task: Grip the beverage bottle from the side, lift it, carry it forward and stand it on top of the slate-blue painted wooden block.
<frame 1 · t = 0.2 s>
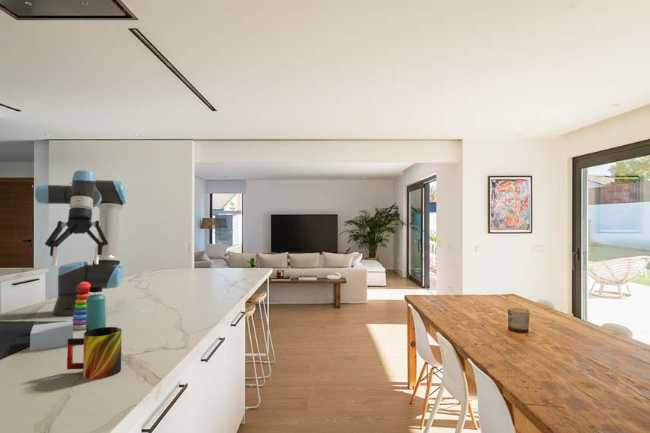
hand: (75, 264, 144), 28 cm above the worktop, tool tilted 20°, fingers open, 13 cm apart
beverage bottle: (95, 340, 145), on the worktop
block: (52, 343, 141), on the worktop
mug: (94, 374, 114), on the worktop
stacking toy: (82, 328, 161), on the worktop
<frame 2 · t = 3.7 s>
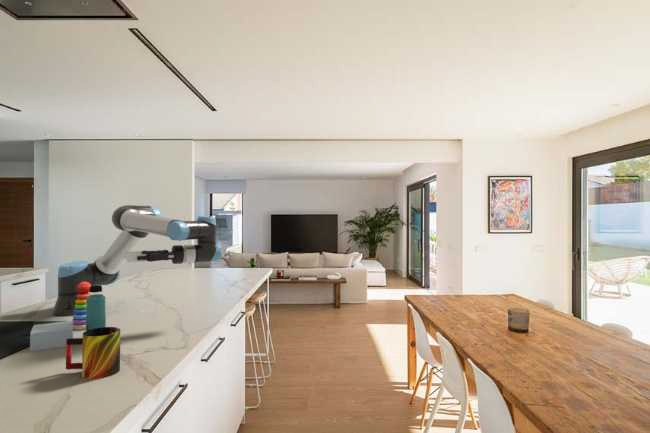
hand: (124, 256, 150), 30 cm above the worktop, tool horizontal, fingers open, 13 cm apart
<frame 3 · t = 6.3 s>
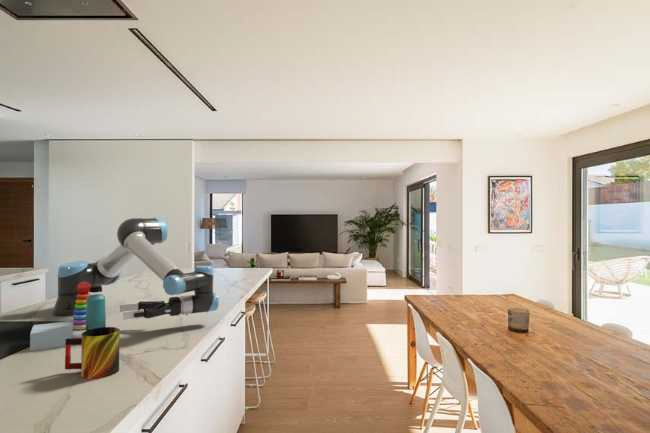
hand: (121, 311, 150), 9 cm above the worktop, tool horizontal, fingers open, 13 cm apart
nothing on the worktop moved.
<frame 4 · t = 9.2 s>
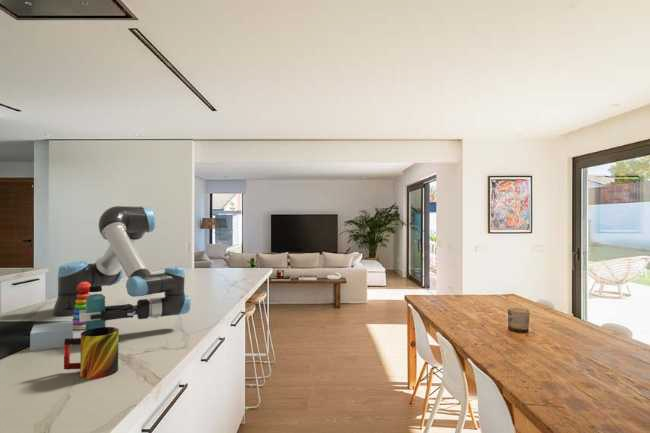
hand: (79, 315, 142), 10 cm above the worktop, tool horizontal, fingers closed on beverage bottle, 6 cm apart
beverage bottle: (95, 340, 145), on the worktop, touching gripper
everything else where it was.
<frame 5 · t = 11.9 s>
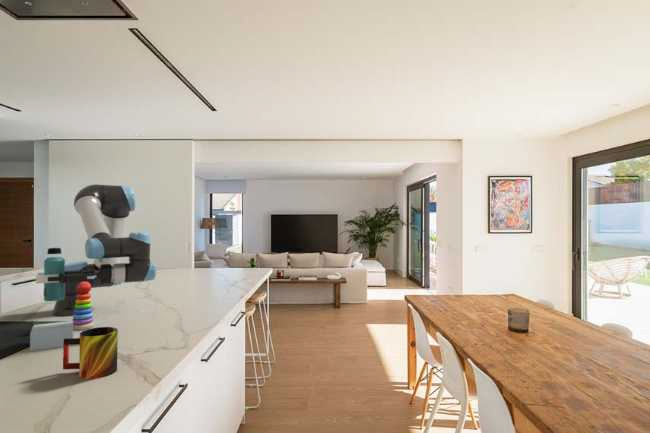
hand: (37, 278, 138), 24 cm above the worktop, tool horizontal, fingers closed on beverage bottle, 6 cm apart
beverage bottle: (54, 304, 141), point 14 cm above the worktop, touching gripper
when the fingers open (16 cm above the worktop, at t = 15.0 s): beverage bottle stays where it is, resting on block.
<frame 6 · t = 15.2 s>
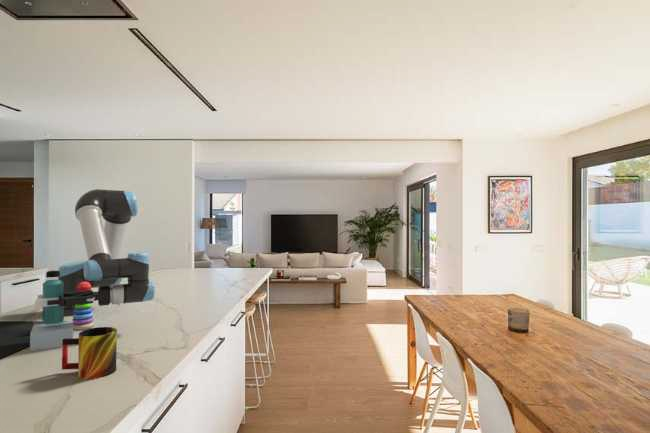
hand: (36, 301, 138), 16 cm above the worktop, tool horizontal, fingers open, 8 cm apart
beverage bottle: (52, 327, 141), point 6 cm above the worktop, touching block
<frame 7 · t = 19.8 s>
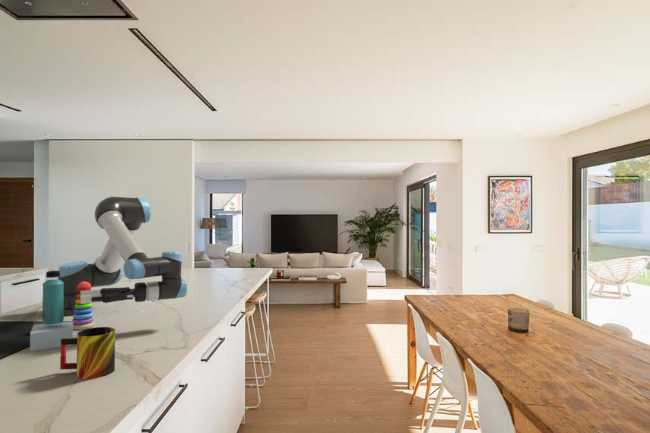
hand: (80, 297, 145), 16 cm above the worktop, tool horizontal, fingers open, 10 cm apart
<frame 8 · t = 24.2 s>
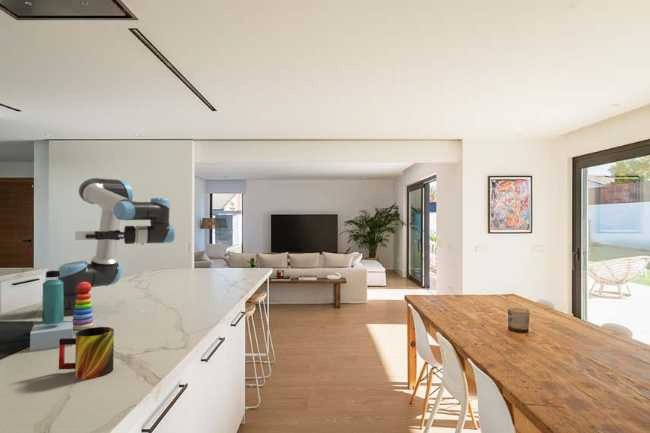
hand: (75, 235, 154), 38 cm above the worktop, tool horizontal, fingers open, 13 cm apart
at the end: beverage bottle inside the target area on the block (0.2 cm from its centre), point 5.8 cm above the block's base; beverage bottle tilted 0°; the gripper is holding nothing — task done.
